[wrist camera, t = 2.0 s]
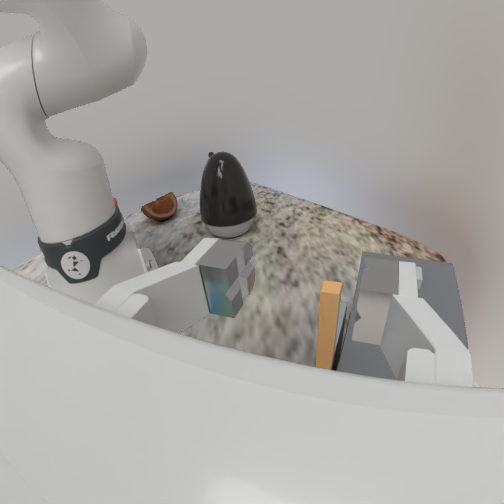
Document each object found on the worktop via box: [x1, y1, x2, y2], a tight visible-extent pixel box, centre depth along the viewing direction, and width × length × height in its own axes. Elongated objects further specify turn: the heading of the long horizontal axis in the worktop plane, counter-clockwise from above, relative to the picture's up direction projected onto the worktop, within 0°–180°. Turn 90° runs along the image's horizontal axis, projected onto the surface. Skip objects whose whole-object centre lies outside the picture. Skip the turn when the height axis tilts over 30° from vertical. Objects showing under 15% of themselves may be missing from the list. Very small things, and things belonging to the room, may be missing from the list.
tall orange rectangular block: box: [316, 280, 347, 371], centre depth 23 cm, size 8×1×16 cm, turn 158°
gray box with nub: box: [336, 252, 468, 380], centre depth 27 cm, size 18×10×11 cm, turn 158°
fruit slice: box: [141, 192, 177, 221], centre depth 67 cm, size 8×7×5 cm
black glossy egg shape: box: [200, 152, 257, 238], centre depth 56 cm, size 10×10×15 cm
